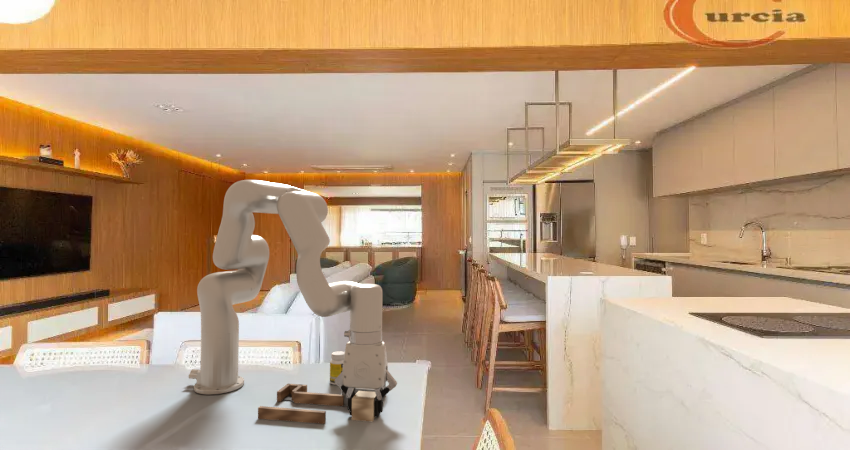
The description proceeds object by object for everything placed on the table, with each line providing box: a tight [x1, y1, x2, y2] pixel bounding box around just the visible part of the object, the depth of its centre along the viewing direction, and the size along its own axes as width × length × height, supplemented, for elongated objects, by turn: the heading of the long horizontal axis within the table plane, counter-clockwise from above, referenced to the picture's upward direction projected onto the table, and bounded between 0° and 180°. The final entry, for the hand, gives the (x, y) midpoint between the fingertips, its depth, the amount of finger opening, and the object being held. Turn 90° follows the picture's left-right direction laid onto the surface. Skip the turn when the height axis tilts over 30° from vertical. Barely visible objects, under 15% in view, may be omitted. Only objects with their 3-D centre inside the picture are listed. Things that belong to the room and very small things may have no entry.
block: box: [351, 391, 377, 422], centre depth 103 cm, size 5×5×5 cm
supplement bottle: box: [329, 350, 345, 386], centre depth 125 cm, size 5×5×8 cm
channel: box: [257, 383, 345, 425], centre depth 107 cm, size 18×16×2 cm
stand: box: [341, 381, 387, 407], centre depth 113 cm, size 9×9×4 cm
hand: (365, 413), depth 103 cm, fingers open, 5 cm apart
